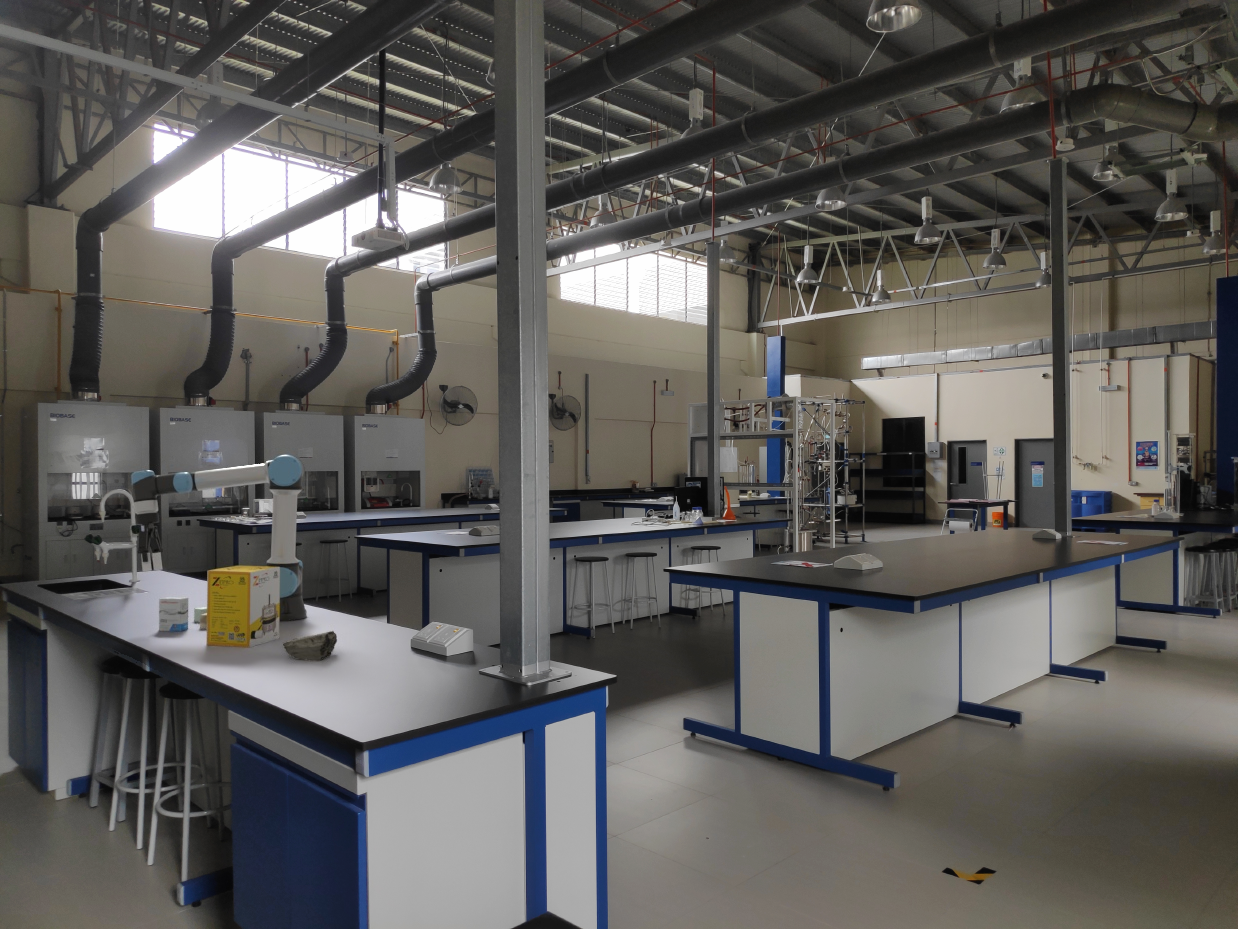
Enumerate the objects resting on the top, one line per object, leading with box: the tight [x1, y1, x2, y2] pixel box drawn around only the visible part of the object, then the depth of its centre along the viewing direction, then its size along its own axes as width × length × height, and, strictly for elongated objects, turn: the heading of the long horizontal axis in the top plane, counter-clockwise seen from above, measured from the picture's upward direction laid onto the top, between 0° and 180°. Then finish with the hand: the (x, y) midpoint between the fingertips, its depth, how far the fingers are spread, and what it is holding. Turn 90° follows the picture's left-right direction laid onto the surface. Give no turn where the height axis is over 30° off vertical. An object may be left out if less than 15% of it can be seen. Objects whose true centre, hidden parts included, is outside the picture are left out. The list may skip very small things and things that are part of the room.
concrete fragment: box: [282, 630, 338, 662], centre depth 256 cm, size 15×10×15 cm
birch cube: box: [199, 613, 207, 630], centre depth 302 cm, size 5×5×5 cm
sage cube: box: [193, 606, 207, 623], centre depth 315 cm, size 5×5×5 cm
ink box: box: [158, 596, 189, 632], centre depth 296 cm, size 8×5×12 cm, turn 84°
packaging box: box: [205, 565, 280, 648], centre depth 278 cm, size 16×16×25 cm
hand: (152, 570), depth 296 cm, fingers open, 13 cm apart
